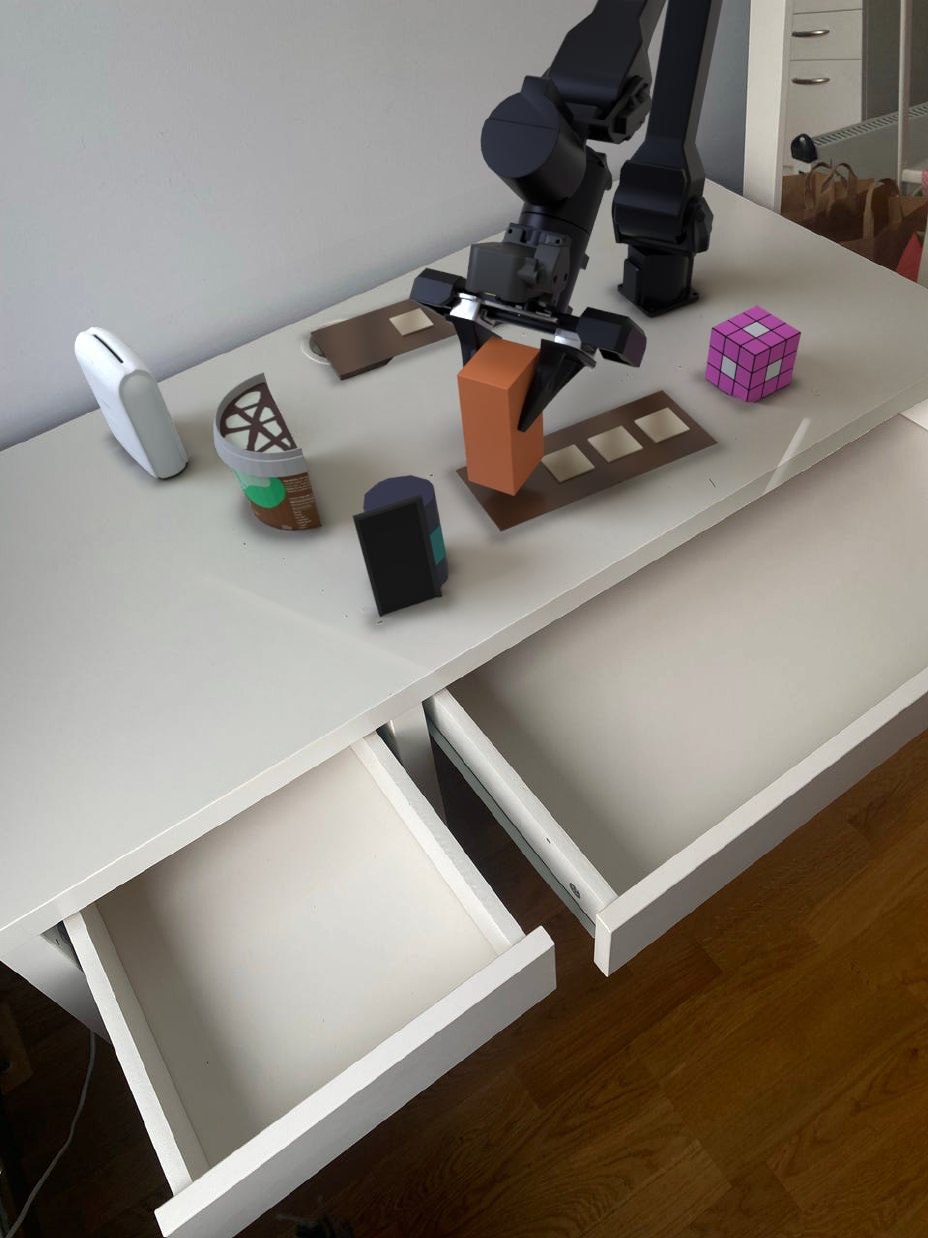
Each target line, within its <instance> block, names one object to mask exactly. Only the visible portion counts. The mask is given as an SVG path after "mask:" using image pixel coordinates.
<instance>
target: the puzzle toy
mask: <svg viewBox="0 0 928 1238" xmlns="http://www.w3.org/2000/svg"><path fill="white" fill-rule="evenodd" d="M801 336H802V332H801V331H800V330H799V329H797V328H796V327H793V326H792V325H791V324H789V323H787V322H786V321H784V320H782V319H781V318H779V317H777V316H776V315H774V314H772V313H770V312H769V311H767V310H766V309H764V308H762V307H761V306H759V305H755V306H753V307H751V308H749V309H747V310H745V311H743V312H741V313H739V314H737V315H735V316H732V317H730V318H728V319H727V320H724V321H723V322H720V323H718V324H717V325H714V326H712V327H711V331H710V338H709V345H708V354H707V360H706V368H705V375H704V378H705V380H707V381H709V382H710V383H712V384H713V385H715V386H716V387H718V388H719V389H720V390H722V391H723V392H724V393H726V394H727V395H729V396H730V397H732V398H737V399H740V400H742V401H744V402H745V403H748V402H752V403H756V402H757V401H759V400H761V399H763V398H765V397H766V396H768V395H770V394H772V393H774V392H776V391H778V390H780V389H782V388H783V387H785V386H787V385H790V383H791V381H792V377H793V371H794V367H795V363H796V359H797V354H798V349H799V345H800V340H801Z"/></svg>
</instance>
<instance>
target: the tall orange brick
mask: <svg viewBox="0 0 928 1238" xmlns="http://www.w3.org/2000/svg"><path fill="white" fill-rule="evenodd" d="M539 357H540V348H538V347H534V346H530V345H527V344H524V343H519V342H516V341H512V340H508V339H504V338H502V339H501V338H497V337H493V336H491V337H490V338H489V339H488V341H487V342H486V343H485V344H484V345H483V346H482V347H481V348H480V349H479V351H478V352H477V353H476V354H475V355H474V356H473V357H472V358H471V359H470V361H469V362H468V363H467V364H466V365H465V366H464V367H463V366H462V368H461V369H460V370H459V372H457V374H456V379H457V389H458V397H459V406H460V416H461V425H462V434H463V444H464V453H465V461H466V466H467V472H468V480H469V481H471V482H474V483H477V484H480V485H483V486H486V487H489V488H492V489H495V490H498V491H501V492H504V493H507V494H510V495H513V496H514V495H515V494H516V493H517V492H518V490H519V489H520V488H521V486H522V485H523V484H524V482H525V481H526V480H527V478H528V477H529V476H530V474H531V473H532V472H533V470H534V469H535V468H536V466H537V465H538V464H539V462H540V461H541V460H542V458H543V457H544V438H543V436H544V410H543V411H542V413H541V414H540V415H539V416H538V418H537V419H536V420H535V421H534V422H533V424H532V425H531V426H530V427H529V428H528V430H527V431H526V432H521V431H518V430H517V427H518V423H519V419H520V414H521V410H522V407H523V405H524V402H525V399H526V396H527V394H528V391H529V388H530V386H531V383H532V380H533V378H534V375H535V372H536V370H537V367H538V364H539Z"/></svg>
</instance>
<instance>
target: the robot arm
mask: <svg viewBox="0 0 928 1238" xmlns="http://www.w3.org/2000/svg"><path fill="white" fill-rule="evenodd" d="M666 2H667V6H666V11H665V17H664V23H663V31H662V36H661V40H660V46H659V47H660V48H659V54H658V60H657V65H656V71H655V77H654V83H653V74H652V68H651V63H650V57H649V48H650V46H651V42H652V39H653V36H654V33H655V30H656V28H657V25H658V23H659V21H660V18H661V16H662V12H663V11H664V7H665V5H666ZM723 2H724V1H723V0H597V1H596V2H595V5H594V6H593V9H592V11H591V12H590V13H589V14H588V15H587V16H586V17H585V18H583V19H582V20H580V22H578V23H577V24H576V25H575V26H573V27H572V28H570V29H569V30H568V31H567V33H566V34H565V35H564V37H563V39H562V41H561V44H560V45H559V47H558V49H557V51H556V53H555V55H554V57H553V59H552V61H551V64H550V65H549V67H547V68H546V70H545V71H544V72H543V73H542V75H541V76H536V75H530V74H526V75H525V76H524V78H523V81H522V85H521V88H520V91H518V92H516V93H514V94H512V95H509V96H507V97H506V98H504V99H503V100H502V101H500V102H499V103H498V104H497V105H496V106H495V108H494V109H493V110H492V111H491V112H490V115H489V116H488V117H487V118H486V119H485V120H484V122H483V125H482V129H481V132H480V133H481V134H480V151H481V154H482V158H483V161H484V162H485V163H486V165H487V167H488V168H489V169H490V170H491V171H492V172H493V173H494V174H495V175H496V176H497V177H498V178H499V179H500V180H501V181H502V182H503V183H504V184H505V185H506V186H507V187H508V188H509V189H510V190H511V191H512V192H513V193H514V194H515V195H516V196H517V197H518V198H520V200H522V201H523V204H522V207H521V210H520V214H519V217H518V220H517V223H515V222H509V223H508V224H509V225H508V227H506V229H505V232H504V235H503V239H502V240H501V241H487V242H478V243H477V242H476V243H471V244H470V249H469V255H468V256H469V257H468V262H467V263H468V264H467V272H466V278H465V277H464V276H463V275H459V274H454V273H451V272H446V271H442V270H438V269H434V268H429V267H425V268H424V269H423V270H422V271H421V272H420V273H419V274H418V275H417V276H416V277H415V278H414V279H413V282H412V286H411V289H410V293H409V297H408V299H410V300H411V301H413V302H415V303H417V304H419V305H420V306H422V307H424V308H426V309H428V310H429V311H431V312H433V313H435V314H437V315H440V316H442V317H445V321H446V322H448V323H449V324H451V325H453V326H454V327H455V330H456V332H457V335H456V336H457V338H458V340H459V343H460V349H461V350H460V351H461V356H462V357H461V359H462V360H461V361H462V368H463V367H464V366H465V365H466V364H467V363H468V362H469V361H470V359H471V358H472V357H473V356H474V355H475V354H476V353H477V352H478V351H479V349H480V348H481V347H482V346H483V345H484V344H485V343H486V342H487V341H488V339H489V338H490V337H491V336H493V337H497V338H501V339H503V337H502V336H500V335H499V334H497V333H496V332H494V331H493V327H494V326H493V325H494V323H495V321H499V322H503V323H502V324H507V325H511V326H514V327H518V328H522V329H527V330H531V331H533V332H534V331H535V332H537V333H542V334H545V335H550V336H553V338H554V339H553V340H550V339H546V338H541V339H540V345H539V346H540V347H539V349H540V357H539V364H538V367H537V370H536V372H535V375H534V378H533V380H532V383H531V386H530V388H529V391H528V394H527V396H526V399H525V402H524V405H523V407H522V410H521V414H520V419H519V423H518V427H517V430H518V431H521V432H526V431H527V430H528V428H529V427H530V426H531V425H532V424H533V422H534V421H535V420H536V419H537V418H538V416H539V415H540V414H541V413H542V411H543V412H544V410H545V409H546V408H548V406H549V404H550V403H551V402H552V401H553V399H554V398H556V396H557V395H558V394H559V393H560V392H561V390H563V388H564V387H566V385H567V384H569V383H570V382H571V381H572V380H573V379H574V378H575V377H576V376H577V375H578V374H579V373H580V372H581V371H582V370H583V369H584V368H587V367H588V368H592V369H595V368H596V367H597V363H598V362H597V360H595V357H596V354H597V351H599V353H600V355H601V357H602V359H604V360H605V361H608V362H612V363H617V364H620V365H624V366H627V367H632V368H635V369H636V368H637V369H639V368H640V367H641V364H642V361H643V359H644V355H645V354H646V353H645V352H646V351H647V344H648V343H647V342H648V338H647V335H646V333H645V330H643V328H641V327H640V325H638V324H637V323H636V322H635V321H634V320H633V319H632V318H631V317H630V316H628V315H625V314H624V315H623V314H619V313H616V312H611V311H607V310H603V309H599V308H595V307H592V306H591V307H590V306H586V308H585V309H583V312H582V313H581V314H580V315H574V314H573V311H574V308H573V307H571V305H570V302H571V299H572V296H573V294H574V293H573V292H574V289H575V287H576V283H577V280H578V277H579V274H580V270H584V271H587V267H588V263H589V261H590V256H589V255H588V254H587V253H586V252H587V249H588V245H589V242H590V239H591V236H592V232H593V229H594V226H595V223H596V219H597V216H598V213H599V211H600V207H601V204H602V201H603V197H604V195H605V192H606V191H608V192H609V191H611V190H612V188H613V174H612V172H611V170H610V168H609V165H608V159H607V157H608V155H607V153H606V152H601V151H596V150H595V149H594V148H592V147H591V146H589V145H588V144H587V141H588V140H589V141H593V142H601V143H606V144H612V145H618V146H619V145H621V144H622V143H624V142H629V141H630V140H631V139H632V138H633V136H634V135H635V133H637V131H639V130H640V129H641V127H642V126H643V124H645V122H646V117H647V116H648V118H647V119H648V120H647V126H646V131H645V137H644V140H643V142H642V143H641V144H640V145H639V147H638V148H637V150H636V151H635V152H634V153H633V155H632V156H631V157H630V159H626V160H625V161H624V162H623V164H622V166H621V167H620V170H619V180H618V185H617V187H616V189H615V191H614V193H613V197H612V203H611V208H610V209H611V211H610V212H611V221H612V228H613V234H614V240H615V244H619V245H621V244H623V245H627V257H626V258H624V260H623V268H622V269H623V272H622V283H619V284H618V285H617V288H616V289H617V292H619V293H620V294H621V295H622V296H623V297H624V298H625V299H627V300H628V302H630V303H631V304H632V305H634V306H635V307H636V308H637V309H638V310H639V311H640V312H641V313H643V314H644V315H645V316H646V317H650V318H651V317H655V316H657V315H660V314H662V313H665V312H668V311H671V310H673V309H677V308H679V307H682V306H684V305H687V304H689V303H692V302H695V301H697V300H699V299H700V292H698V291H697V290H696V289H695V288H694V287H693V286H692V283H693V273H694V265H695V264H694V263H695V257H696V256H697V255H698V254H701V253H705V252H707V251H708V250H709V249H710V241H711V234H712V232H713V221H714V213H713V211H712V210H711V208H710V206H709V204H708V202H707V200H706V198H705V197H704V196H703V194H704V191H705V190H704V189H705V184H706V176H707V175H706V171H705V168H704V166H703V163H702V159H701V155H700V153H699V150H698V146H697V145H696V144H697V143H696V141H697V140H696V139H697V135H698V130H699V124H700V120H701V114H702V110H703V104H704V99H705V95H706V94H705V93H706V88H707V84H708V79H709V73H710V68H711V63H712V58H713V52H714V48H715V44H716V43H715V42H716V37H717V32H718V28H719V27H718V26H719V21H720V17H721V12H722V7H723ZM652 84H653V88H652ZM651 88H652V89H653V90H652V94H651ZM484 292H485V293H489V294H485V293H484ZM490 294H493V295H490ZM494 295H496V296H494ZM518 308H519V309H518Z"/></svg>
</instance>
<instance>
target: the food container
mask: <svg viewBox="0 0 928 1238" xmlns="http://www.w3.org/2000/svg"><path fill="white" fill-rule="evenodd" d="M213 440H214V441H213V442H214V447H215V450H216V453H217V454H218V456H219V458H220V459H221V460H222V461H223V462H224V463H225V464H226V465H227V466H229V468H231V469H233V472H234V474H235V476H236V478H237V480H238V482H239V484H240V487H241V489H242V492H243V493H244V495H245V497H246V499H247V502H248V504H249V507H250V509H251V511H252V512H253V514H254V516H255V517H256V518H257V519H258V520H259V521H260V523H263V524H264V525H266V526H268V527H270V528H273V529H276V530H280V531H281V530H282V531H291V532H292V531H293V532H294V531H305V530H311V529H314V528H317V527H321V526H322V522H321V517H320V513H319V511H318V506H317V503H316V499H315V498H316V497H315V495H314V491H313V488H312V487H313V486H312V483H311V479H310V475H309V473H308V472H309V468H308V465H307V461H306V458H305V455H304V452H303V450H302V447H301V446H300V447H298V446H297V444H296V442H295V440H294V438H293V436H292V433H291V432H290V430H289V427H288V425H287V423H286V420H285V419H284V417H283V415H282V413H281V411H280V409H279V407H278V405H277V403H276V401H275V399H274V397H273V396H272V393H271V391H270V388H269V385H268V382H267V378H266V376H265V372H264V371H262V372H260V373H257V374H254V375H251V376H250V377H247V378H246V379H244V380H243V381H241V382H239V383H238V384H236V385H235V386H234V387H232V388H231V389H229V391H228V392H227V393H226V394H225V395H224V396H223V397H222V399H221V400H220V401H219V403H218V405H217V407H216V410H215V414H214V420H213Z"/></svg>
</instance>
